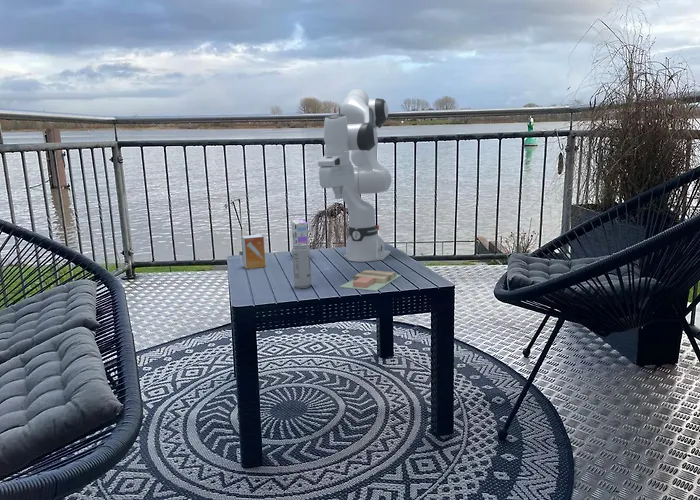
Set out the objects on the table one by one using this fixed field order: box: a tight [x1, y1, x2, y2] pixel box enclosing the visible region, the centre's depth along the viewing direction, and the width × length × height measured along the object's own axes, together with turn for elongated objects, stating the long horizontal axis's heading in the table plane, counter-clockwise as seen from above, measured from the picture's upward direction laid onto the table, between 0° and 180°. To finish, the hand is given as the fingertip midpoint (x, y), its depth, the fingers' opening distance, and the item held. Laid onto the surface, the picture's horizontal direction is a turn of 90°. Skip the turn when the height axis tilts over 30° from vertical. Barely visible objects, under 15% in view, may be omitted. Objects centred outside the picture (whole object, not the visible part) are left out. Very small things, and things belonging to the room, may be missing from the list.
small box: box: [241, 234, 266, 270], centre depth 216 cm, size 8×6×13 cm
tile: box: [353, 277, 375, 288], centre depth 180 cm, size 7×5×2 cm
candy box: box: [290, 219, 310, 248], centre depth 231 cm, size 14×6×16 cm, turn 12°
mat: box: [339, 274, 402, 292], centre depth 186 cm, size 22×14×1 cm, turn 152°
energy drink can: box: [291, 243, 312, 289], centre depth 181 cm, size 6×6×15 cm
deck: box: [353, 269, 397, 283], centre depth 188 cm, size 10×12×2 cm
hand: (339, 198), depth 190 cm, fingers closed
